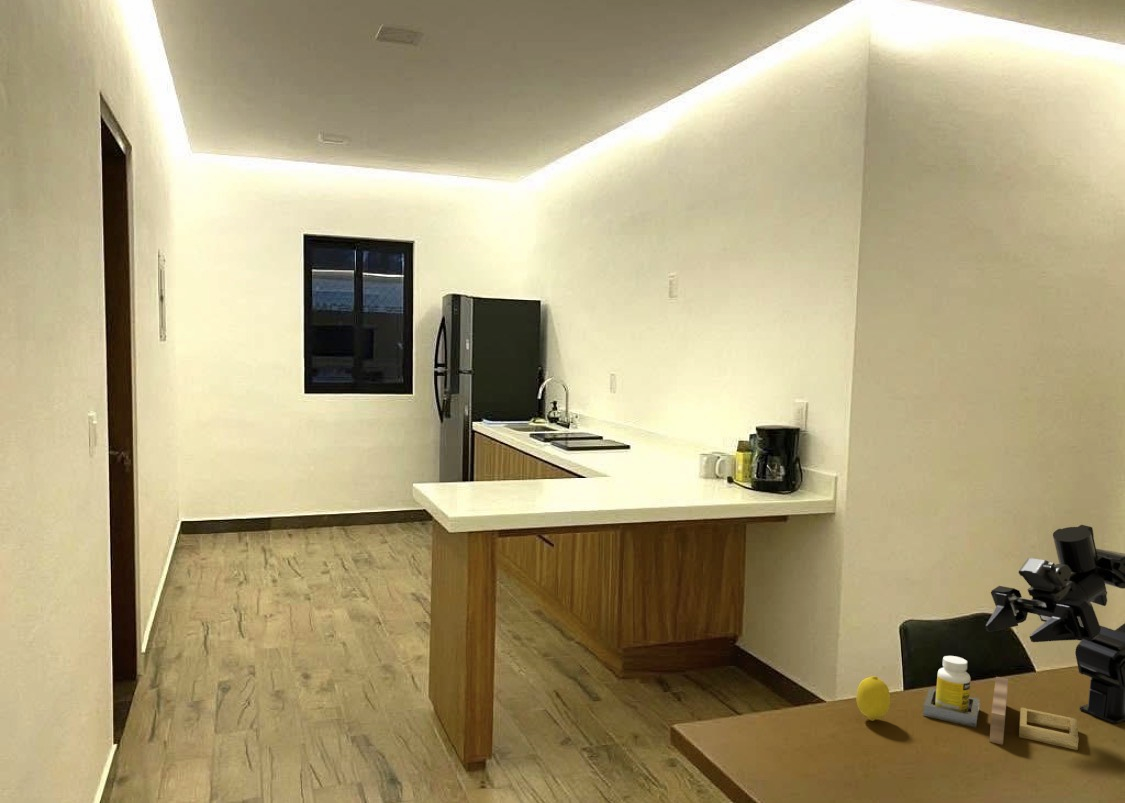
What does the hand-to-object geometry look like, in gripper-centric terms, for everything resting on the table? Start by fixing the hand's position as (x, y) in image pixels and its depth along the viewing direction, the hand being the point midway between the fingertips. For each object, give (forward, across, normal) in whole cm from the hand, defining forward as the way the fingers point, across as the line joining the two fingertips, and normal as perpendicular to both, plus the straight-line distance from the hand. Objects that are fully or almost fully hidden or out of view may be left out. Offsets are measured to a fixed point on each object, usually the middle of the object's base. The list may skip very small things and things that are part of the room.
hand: (1008, 633), depth 143 cm
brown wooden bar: (+4, -6, +17) cm, 18 cm away
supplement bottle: (+8, -12, +14) cm, 20 cm away
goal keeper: (-1, -1, +19) cm, 19 cm away
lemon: (+23, -13, +8) cm, 27 cm away
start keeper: (+8, -12, +14) cm, 20 cm away
